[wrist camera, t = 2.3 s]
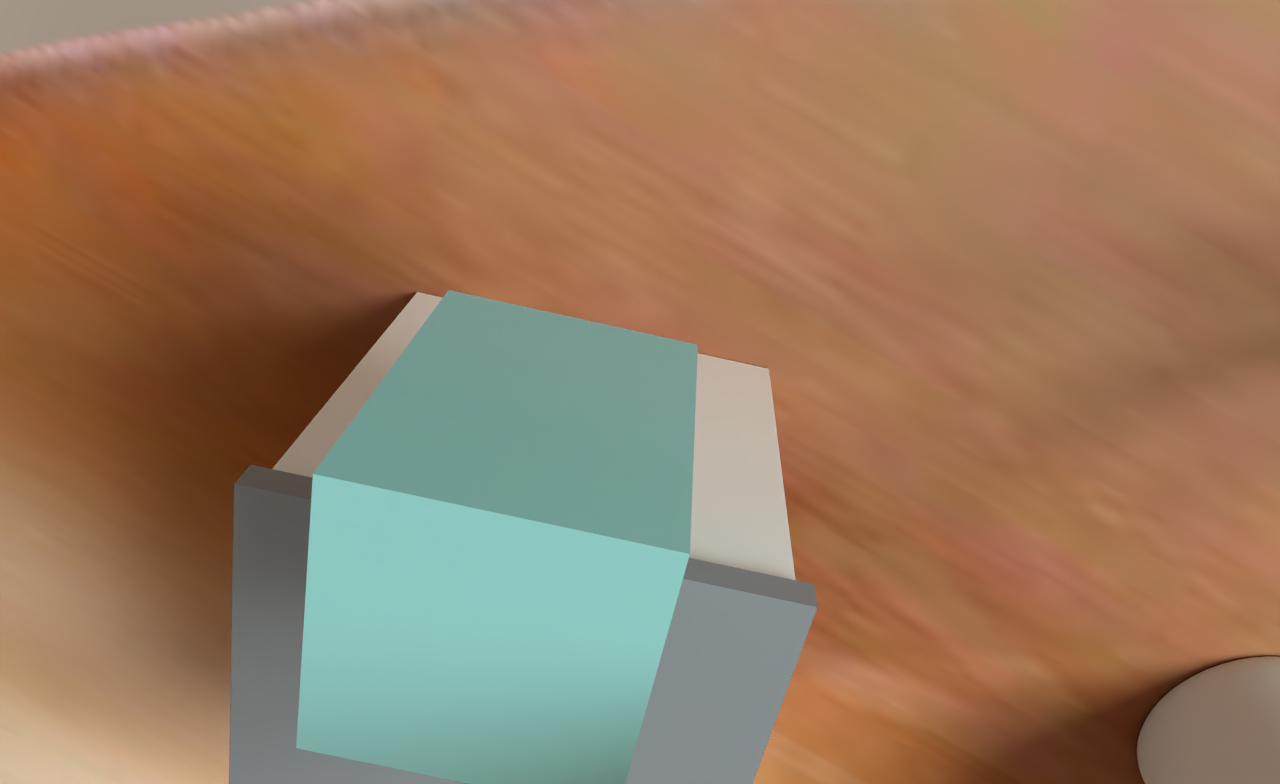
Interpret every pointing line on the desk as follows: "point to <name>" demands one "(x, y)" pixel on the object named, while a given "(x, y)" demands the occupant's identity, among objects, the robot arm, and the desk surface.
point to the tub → (722, 467)
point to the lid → (503, 577)
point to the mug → (1216, 727)
